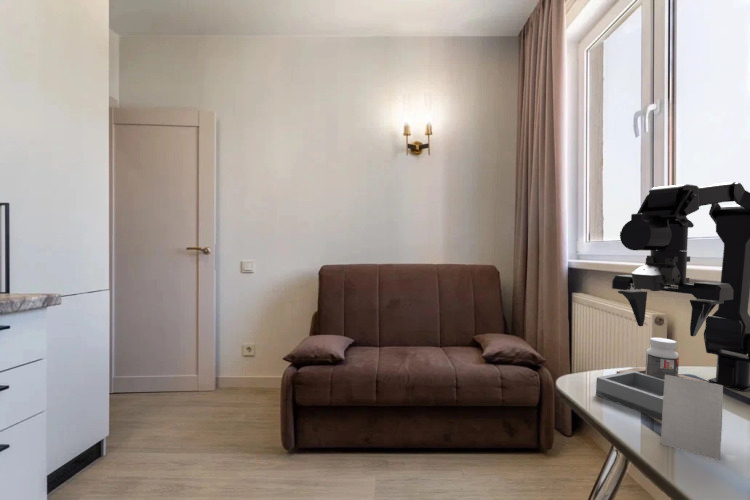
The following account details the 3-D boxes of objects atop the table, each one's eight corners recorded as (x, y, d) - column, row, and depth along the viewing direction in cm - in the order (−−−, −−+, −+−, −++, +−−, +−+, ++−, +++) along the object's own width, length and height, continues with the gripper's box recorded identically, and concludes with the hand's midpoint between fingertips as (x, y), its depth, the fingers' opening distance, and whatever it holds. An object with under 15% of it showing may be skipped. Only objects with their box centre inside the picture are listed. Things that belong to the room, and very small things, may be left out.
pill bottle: (683, 392, 83) (685, 344, 83) (652, 389, 84) (654, 342, 84) (668, 383, 89) (671, 338, 89) (640, 380, 90) (642, 335, 90)
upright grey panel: (719, 460, 56) (724, 389, 56) (660, 444, 60) (664, 377, 60) (717, 449, 59) (721, 382, 59) (661, 435, 63) (665, 371, 63)
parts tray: (631, 387, 85) (632, 370, 85) (698, 408, 75) (699, 390, 75) (595, 394, 80) (596, 377, 80) (662, 419, 69) (663, 399, 69)
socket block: (647, 374, 95) (647, 365, 95) (708, 391, 84) (708, 382, 84) (616, 380, 89) (616, 371, 89) (677, 400, 79) (677, 390, 79)
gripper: (596, 249, 83) (594, 325, 83) (705, 252, 66) (701, 347, 67) (628, 249, 88) (626, 320, 88) (736, 252, 71) (732, 340, 72)
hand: (665, 330), depth 79 cm, fingers open, 9 cm apart
